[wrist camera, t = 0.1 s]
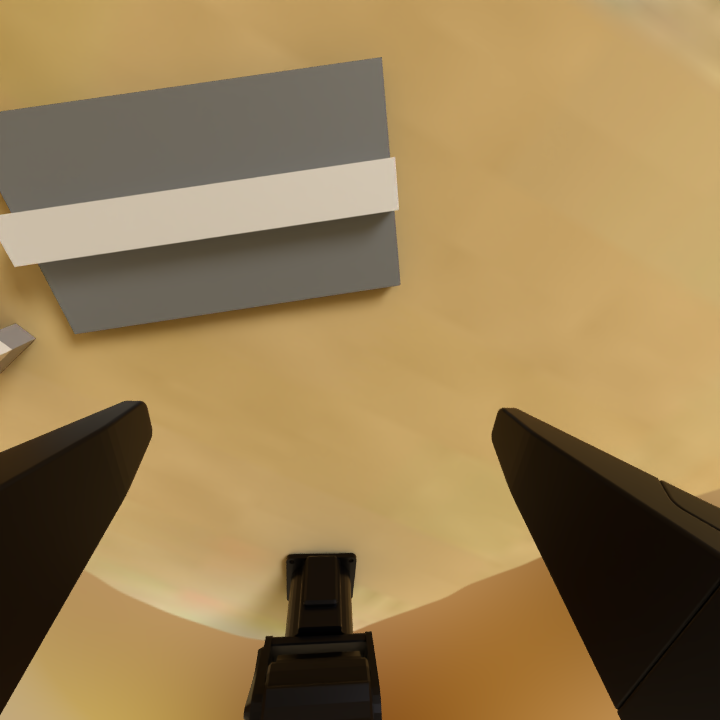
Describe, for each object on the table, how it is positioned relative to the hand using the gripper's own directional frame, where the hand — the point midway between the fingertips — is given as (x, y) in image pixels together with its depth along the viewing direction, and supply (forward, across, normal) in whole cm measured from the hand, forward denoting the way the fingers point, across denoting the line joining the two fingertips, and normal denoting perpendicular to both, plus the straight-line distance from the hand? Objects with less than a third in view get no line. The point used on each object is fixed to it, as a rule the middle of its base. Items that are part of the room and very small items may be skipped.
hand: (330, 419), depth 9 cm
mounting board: (+15, +7, -4) cm, 17 cm away
